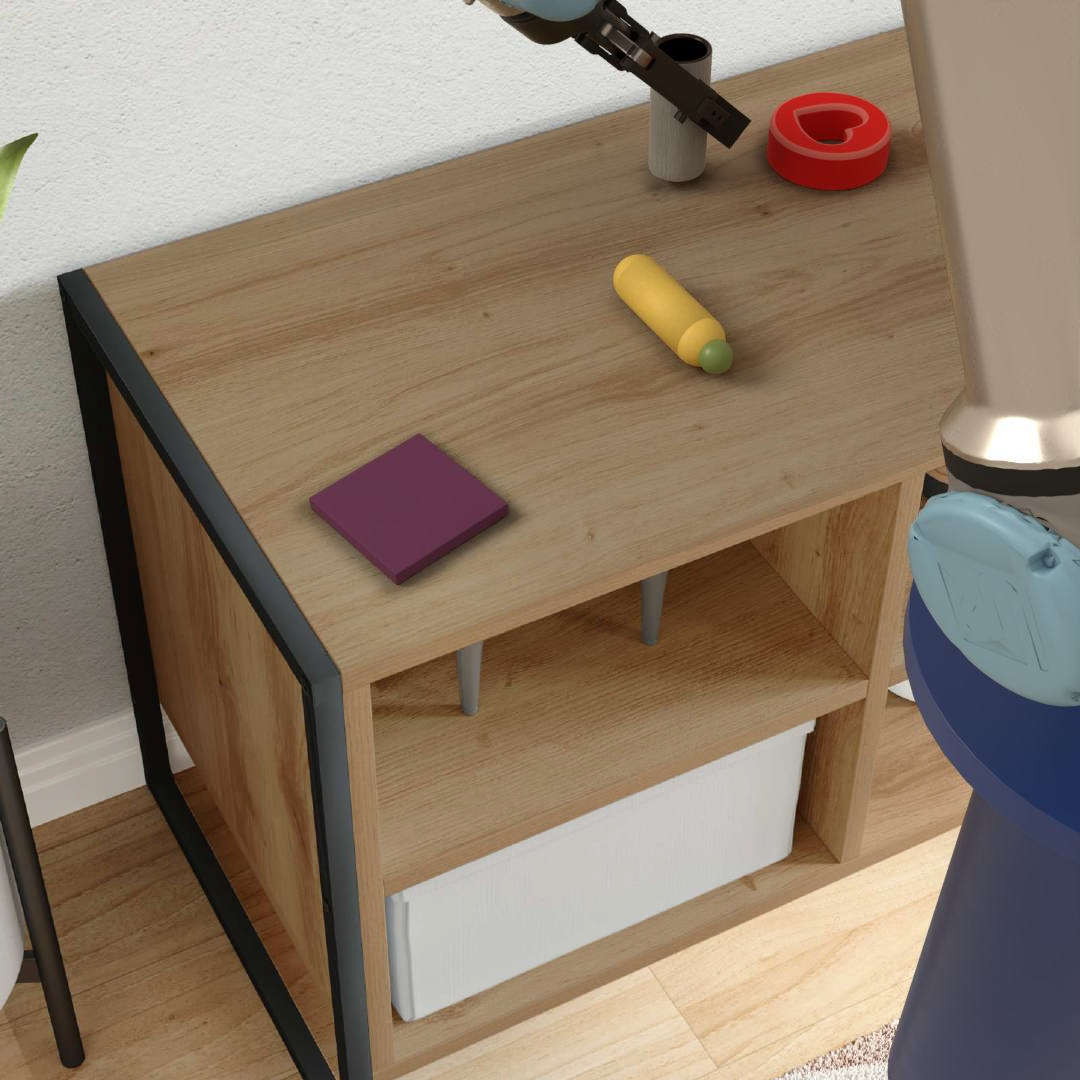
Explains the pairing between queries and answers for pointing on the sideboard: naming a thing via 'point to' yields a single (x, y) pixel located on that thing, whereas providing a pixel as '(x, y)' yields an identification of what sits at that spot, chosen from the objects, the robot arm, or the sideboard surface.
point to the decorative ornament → (829, 120)
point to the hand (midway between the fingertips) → (718, 117)
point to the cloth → (408, 507)
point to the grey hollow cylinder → (670, 142)
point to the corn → (672, 313)
